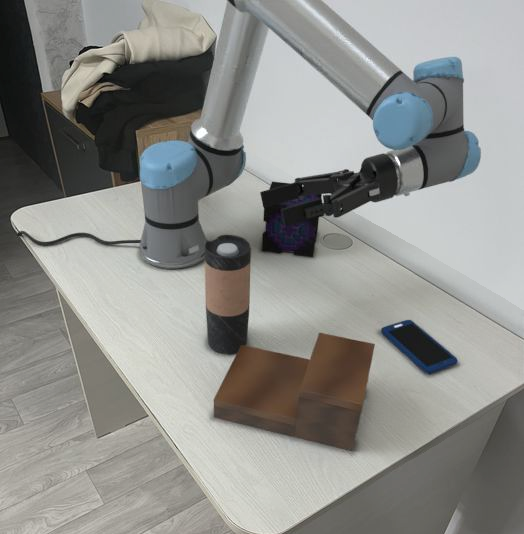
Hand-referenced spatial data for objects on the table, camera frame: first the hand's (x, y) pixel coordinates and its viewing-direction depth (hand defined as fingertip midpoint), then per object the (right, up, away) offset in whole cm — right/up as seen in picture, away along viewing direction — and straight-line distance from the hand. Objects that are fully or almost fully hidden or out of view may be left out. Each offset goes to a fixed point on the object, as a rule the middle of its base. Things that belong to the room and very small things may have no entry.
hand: (271, 208), depth 90 cm
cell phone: (+27, -23, +11) cm, 38 cm away
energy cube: (+5, +2, +40) cm, 41 cm away
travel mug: (-8, -22, +10) cm, 26 cm away
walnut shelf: (+3, -32, -2) cm, 32 cm away
